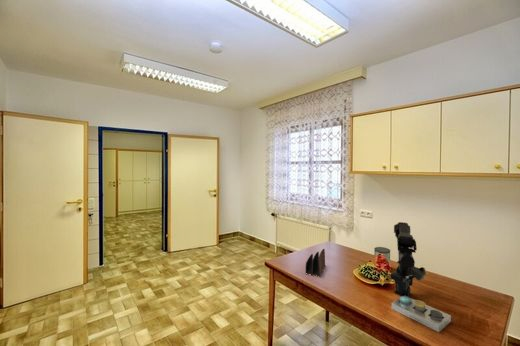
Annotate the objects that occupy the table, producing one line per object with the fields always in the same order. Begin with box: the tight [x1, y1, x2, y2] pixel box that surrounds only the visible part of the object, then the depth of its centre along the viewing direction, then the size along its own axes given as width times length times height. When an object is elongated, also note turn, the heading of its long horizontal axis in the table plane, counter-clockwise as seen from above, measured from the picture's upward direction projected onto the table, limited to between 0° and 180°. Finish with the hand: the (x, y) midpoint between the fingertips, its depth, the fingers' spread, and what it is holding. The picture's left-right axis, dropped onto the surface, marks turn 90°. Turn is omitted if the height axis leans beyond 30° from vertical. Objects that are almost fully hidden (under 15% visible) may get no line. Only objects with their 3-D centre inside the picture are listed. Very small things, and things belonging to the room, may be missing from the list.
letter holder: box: [305, 248, 326, 277], centre depth 171 cm, size 10×20×14 cm, turn 155°
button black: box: [430, 310, 442, 321], centre depth 113 cm, size 5×5×4 cm
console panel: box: [391, 295, 452, 333], centre depth 119 cm, size 21×13×3 cm, turn 33°
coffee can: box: [374, 246, 391, 265], centre depth 171 cm, size 10×10×14 cm
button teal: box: [399, 296, 410, 306], centre depth 125 cm, size 5×5×4 cm
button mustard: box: [414, 299, 427, 313], centre depth 119 cm, size 5×5×4 cm
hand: (405, 289), depth 124 cm, fingers closed
